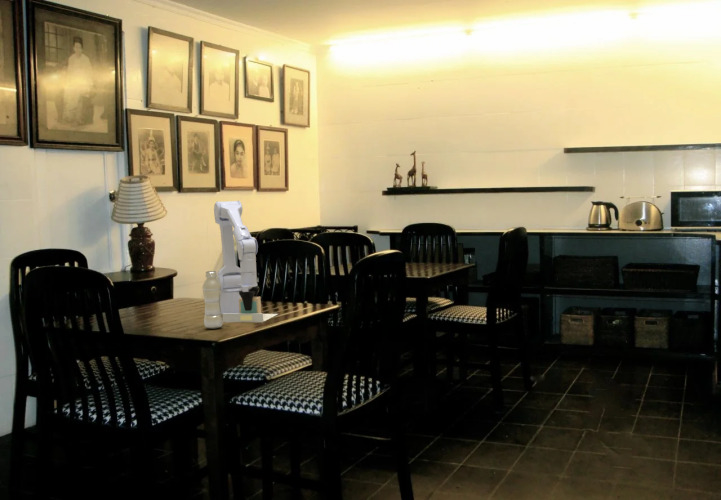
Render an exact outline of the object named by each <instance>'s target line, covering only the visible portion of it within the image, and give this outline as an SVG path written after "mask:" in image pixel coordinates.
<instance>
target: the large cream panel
mask: <svg viewBox="0 0 721 500" xmlns="http://www.w3.org/2000/svg"><path fill="white" fill-rule="evenodd" d="M276 316H278V313H262V312H261V313H223V314H222V318H223V323H264V322H266V321H268V320H270V319H271V318H274V317H276Z"/></svg>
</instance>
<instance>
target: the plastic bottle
mask: <svg viewBox="0 0 721 500" xmlns="http://www.w3.org/2000/svg"><path fill="white" fill-rule="evenodd" d="M205 278H206V279H205V280H204V282H203V284H202V293H203V299H204V316H203V317H204V318H203V325H204V327H205V328H206V329H210V330H216V329H220V328H221V327H222V326H223V324H224V322H223V314H221V306H220V296H221V284H220V282H219V281H218V280H217V270H208V271H205Z"/></svg>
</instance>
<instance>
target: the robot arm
mask: <svg viewBox="0 0 721 500" xmlns="http://www.w3.org/2000/svg"><path fill="white" fill-rule="evenodd" d="M213 213H214V214H213V217H214V221H215V223H216V224H217V225H219V229H220V238H221V239H220V240H221V241H220V242H221V250H222V261H223V266H222V267H221V268H220V269H219V270H218V271H217V272H216V274H217V277H216V279H217V280H218V281H219V282H220V284H221V296H220V306H221V315H223V313H239V299H240V298H242V301H243V304H244V308H245V311H250V310H251V309H252V300H253V297H258V293H259V291H260V287H258V279H257V278H258V277H257V262H256V261H257V257H256V255H257V253H258V248H259V245H258V241H257V239H256V238H255V237H254V236H253V237H252V235H251V233H250V231H249V229H248V227H247V225H245V224H244V223H243V220H242V215H243V205H242V201H240V200H231V201H228V200H227V201H216V202H215V203H214V206H213ZM234 239H235V240H234ZM234 241H236V244H237V245H236V250H237V254H238V260H239V265H240V267H239V266H237V263H236V262H237V261H236V252H235V251H236V250H235V242H234Z"/></svg>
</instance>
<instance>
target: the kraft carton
mask: <svg viewBox="0 0 721 500" xmlns="http://www.w3.org/2000/svg"><path fill="white" fill-rule="evenodd" d="M261 299H262V297H261V296H257V297H253V300H252V309H251V310H250V311H245V308H244V304H243V301H242V298H240V299H239V313H262V300H261Z"/></svg>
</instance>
